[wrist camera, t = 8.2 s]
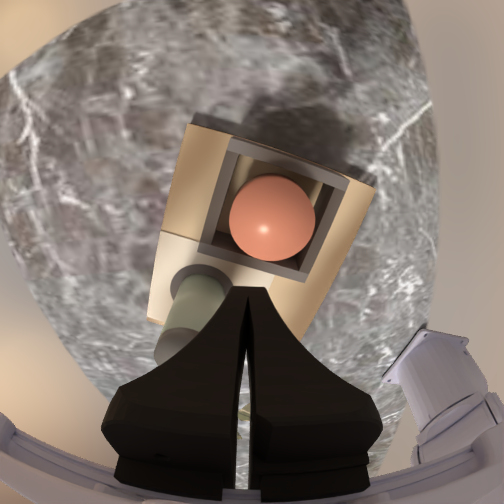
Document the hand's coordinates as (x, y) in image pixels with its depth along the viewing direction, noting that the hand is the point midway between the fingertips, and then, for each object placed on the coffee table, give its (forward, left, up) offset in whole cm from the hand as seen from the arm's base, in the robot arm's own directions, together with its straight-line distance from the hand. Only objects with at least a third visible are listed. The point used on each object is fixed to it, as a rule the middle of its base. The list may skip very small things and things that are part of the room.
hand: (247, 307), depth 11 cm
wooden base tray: (-1, +3, -10) cm, 10 cm away
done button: (-1, -2, -7) cm, 7 cm away
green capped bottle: (+2, +6, -9) cm, 11 cm away
